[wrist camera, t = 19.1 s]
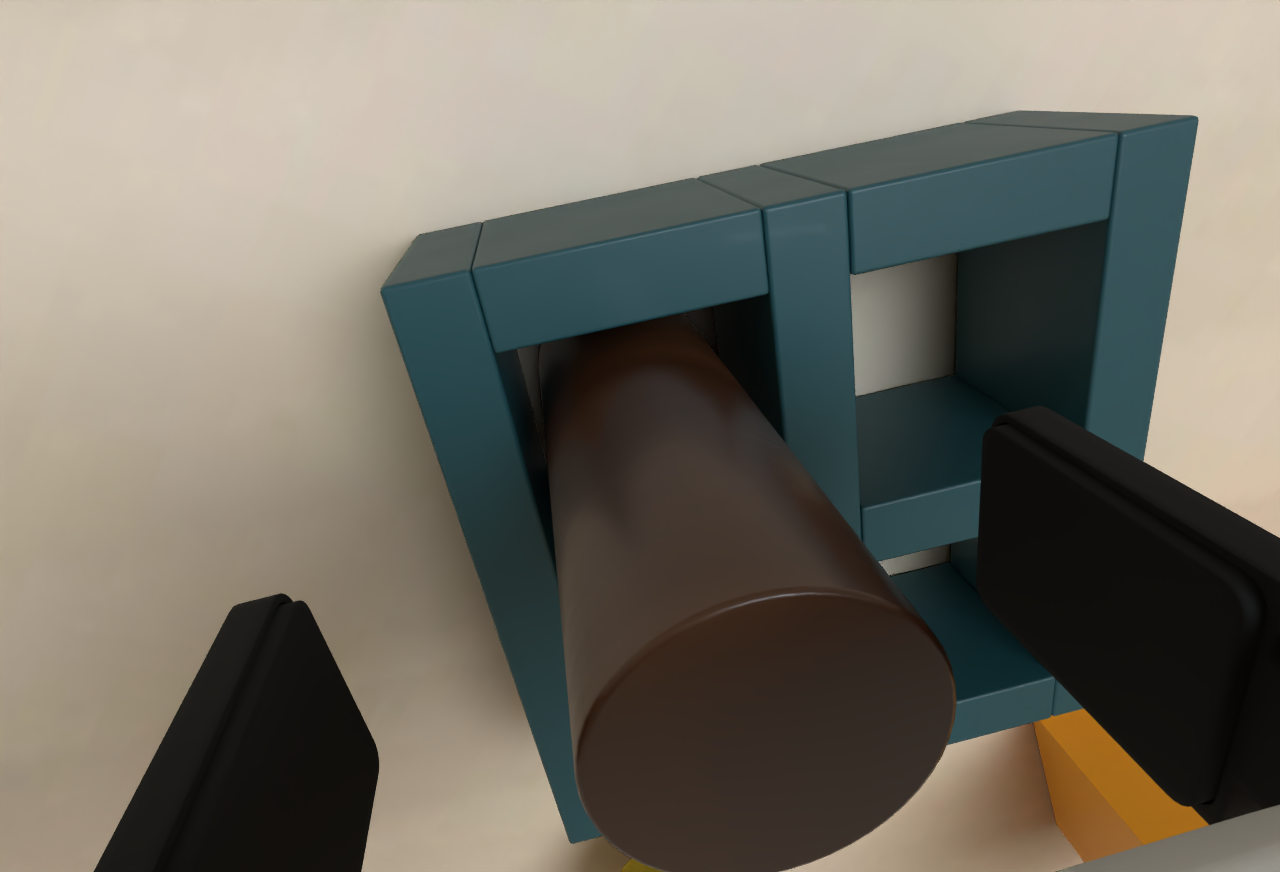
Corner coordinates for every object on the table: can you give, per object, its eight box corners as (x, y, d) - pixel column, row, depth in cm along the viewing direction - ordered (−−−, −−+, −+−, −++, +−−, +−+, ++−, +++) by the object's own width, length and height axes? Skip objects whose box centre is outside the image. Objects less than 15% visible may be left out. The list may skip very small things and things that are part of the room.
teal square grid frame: (559, 696, 22) (570, 846, 18) (415, 234, 16) (377, 289, 12) (992, 587, 23) (1105, 704, 19) (1020, 109, 17) (1202, 114, 12)
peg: (558, 448, 19) (616, 920, 8) (520, 301, 17) (531, 653, 6) (706, 414, 19) (955, 827, 8) (685, 266, 17) (966, 546, 6)
